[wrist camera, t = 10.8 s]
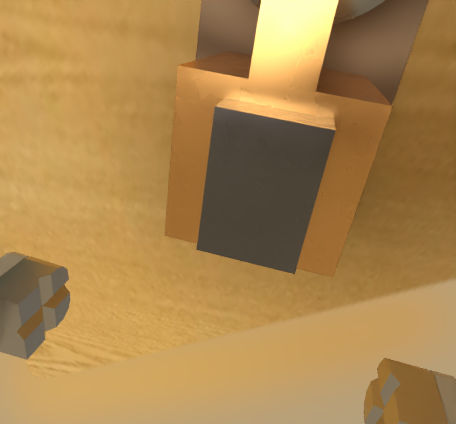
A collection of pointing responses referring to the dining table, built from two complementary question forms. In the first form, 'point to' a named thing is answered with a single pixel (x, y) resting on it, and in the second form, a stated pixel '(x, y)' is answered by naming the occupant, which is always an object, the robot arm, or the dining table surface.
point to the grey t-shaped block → (262, 182)
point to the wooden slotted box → (288, 100)
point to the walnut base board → (338, 40)
